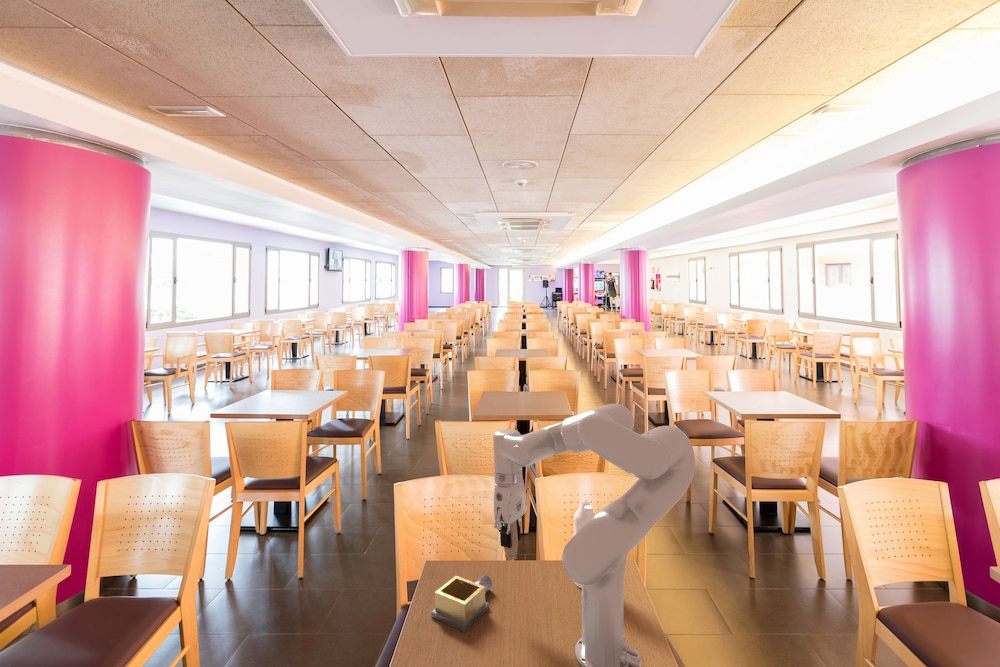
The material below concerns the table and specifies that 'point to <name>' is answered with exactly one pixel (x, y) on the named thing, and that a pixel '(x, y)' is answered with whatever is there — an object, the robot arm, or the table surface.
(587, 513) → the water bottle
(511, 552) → the handle
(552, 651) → the table surface
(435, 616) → the socket
